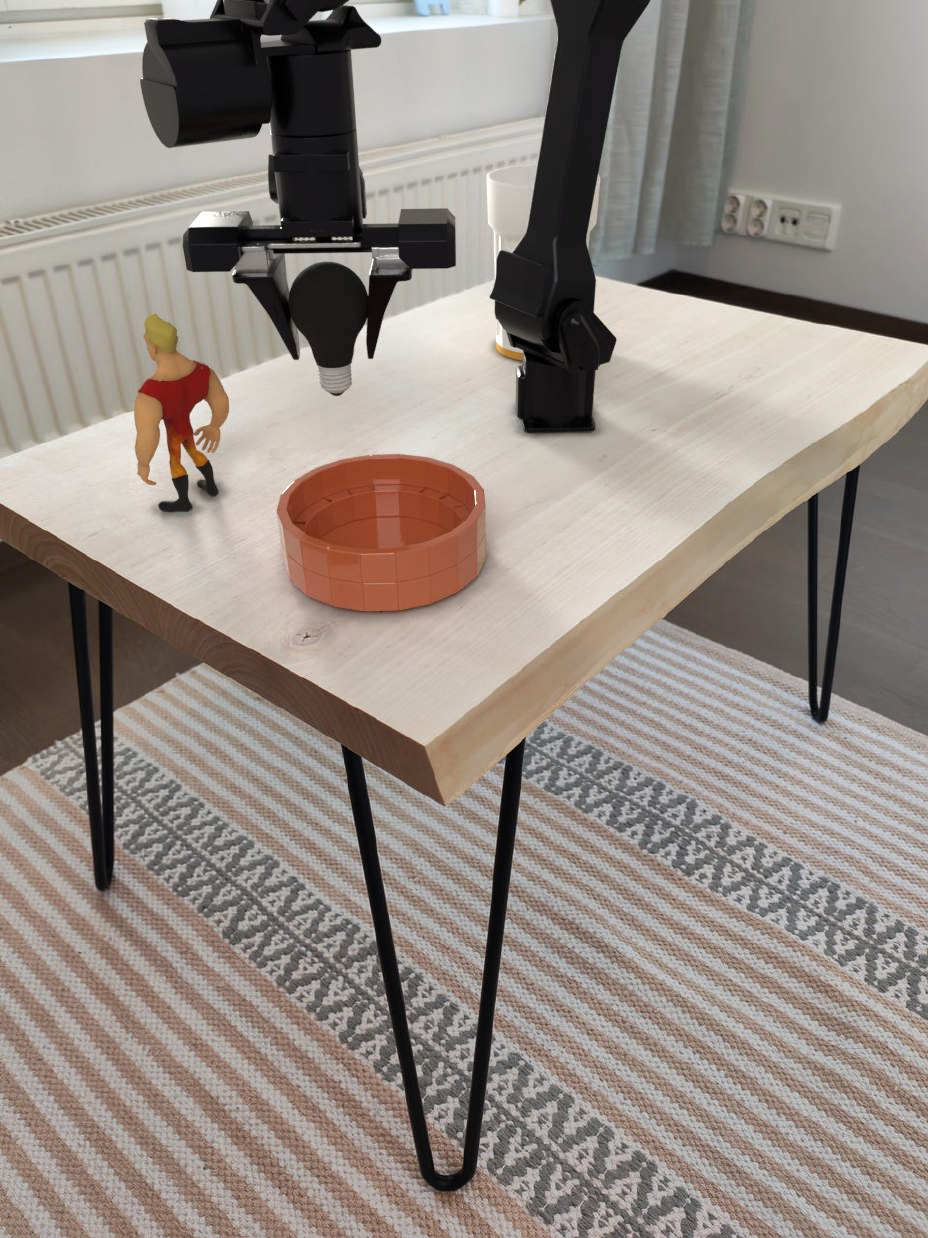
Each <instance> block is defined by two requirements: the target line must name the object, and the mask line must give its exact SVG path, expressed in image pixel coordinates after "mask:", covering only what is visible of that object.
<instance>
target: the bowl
mask: <svg viewBox="0 0 928 1238" xmlns="http://www.w3.org/2000/svg"><path fill="white" fill-rule="evenodd" d="M486 511H487V508H486V496H485V489H484V488H483V487H482V485H481V484H480V483H479V482H478V480H477V479H476V477H474V475H472V474H470V473H469V472H468V471H465V470H464V469H461V468H460V467H458V466H457V465H455V464H453V463H450V462H446V461H443V460H439V459H436V458H432V457H429V456H420V455H412V454H404V453H382V454H381V453H380V454H365V455H360V456H352V457H348V458H341V459H338V460H334V461H332V462H329V463H326V464H323V465H321V466H317V467H314V468H313V469H312V470H309V471H308V472H305V473H304V474H302V475H300V476H299V477H297V478H295V479H294V480H293V481H292V482H290V484H288V486H287V487H286V489H284V490H283V491H282V492H281V494H280V495H279V500H278V503H277V507H276V515H277V523H278V524H277V525H278V529H279V530H278V531H279V537H280V545H281V552H282V560H283V566H284V569H285V571H286V574H287V576H288V579H289V581H290V583H292V584H293V585H294V586H295V587H296V588H298V589H299V590H300V591H301V592H302V593H303V594H305V596H307V597H309V598H312V599H314V600H316V601H318V602H322V603H324V604H326V605H329V606H331V607H334V608H340V609H347V610H353V611H358V612H389V611H390V612H393V611H403V610H407V609H413V608H419V607H423V606H425V605H431V604H434V603H436V602H439V601H440V600H442V599H445V598H447V597H449V596H450V597H451V596H452V595H454V594H457V593H459V592H460V591H461V590H462V589H463V588H465V587H466V586H467V585H469V584H470V583H471V582H472V581H473V580H474V579H475V578H477V577H478V576H479V573H480V571H481V569H482V567H483V566H484V563H485V561H486V558H487V556H486V555H487V554H486V551H487V550H486V547H487V546H486V545H487V544H486V543H487V541H486V539H487V538H486V536H487V535H486V534H487V533H486V528H487V527H486V523H487V521H486V520H487V519H486V517H487V516H486Z"/></svg>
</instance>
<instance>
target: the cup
mask: <svg viewBox="0 0 928 1238" xmlns="http://www.w3.org/2000/svg"><path fill="white" fill-rule="evenodd" d="M537 165H538V163H530V164H519V165H509V166H506V167H505V166H504V167H500V168H496V169H493V170H491V171H489V172H488V173H486V197H487V198H486V201H487V202H486V203H487V225H488V226H489V227H490V229H492V231H493V259H494V260H493V261H494V280H495V279H496V260H497V257H498V254H499V252H500V251H501V250H504V251H508V252H513V250H514V249H515V248H516V246H517V245H518V243H519V242H520V241H521V239H522V238H523V236H524V235H525V233H526V231H527V227H528V222H529V216H530V210H531V203H532V197H533V191H534V184H535V178H536V172H537ZM600 188H601V176H600V173H598V178H597V183H596V188H595V194H594V199H593V205H592V210H591V215H590V221H589V226H588V231H587V239H586V243H587V248H588V250H589V248H590V239H591V238H590V237H591V236H590V235H591V231H592V230H593V229H594V228H595V226H596V225H597V222H598V211H599V210H598V209H599V200H600V190H601V189H600ZM495 349H496V350H497V352H499V353H500V354H501V355H502V356H503V357H507V358H509V359H512V360H515V361H522V362H523V350H521V349H519V348H514V347H512V346H511V345H510V343H509V339H508V336H507V333H506V330H504V329H503V327H502V326H501V324H500V323H499V321H498V320H497V319H496V318H495Z"/></svg>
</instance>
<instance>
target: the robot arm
mask: <svg viewBox="0 0 928 1238" xmlns="http://www.w3.org/2000/svg"><path fill="white" fill-rule="evenodd" d="M348 2H350V0H217V1H216V2H215V5H214V7H213V9H212V12H211V14H210V15H209V18H200V19H198V18H197V19H186V20H185V19H182V20H181V19H176V18H171V17H151V18H146V19H144V20H145V21H143V24H144V31H145V36H146V37H145V38H146V43H145V46H144V48H143V53H142V60H141V62H142V63H141V66H142V67H141V70H142V77H141V78H140V79H139V83H140V90H141V96H142V100H143V105H144V107H145V111H146V114H147V117H148V120H149V123H150V125H151V128H152V130H153V132H154V134H155V136H156V137H157V139H158V140H159V142H160V143H161V144H162V145H163V146H164V147H165V148H167V149H173V148H174V149H175V148H182V147H189V146H190V147H191V146H197V145H205V144H213V143H222V142H231V141H237V140H245V139H253V138H256V137H257V136H258V135H259V134H260V132H261V129H262V127H263V125H266V124H267V125H268V124H269V133H270V142H271V143H270V144H271V151H272V152H271V153H272V154H268V156H267V157H268V159H267V183H268V194H269V198H270V200H271V201H273V202H274V203H275V204H276V205H277V204H278V211H279V212H278V213H279V222H280V224H263V225H261V224H259V225H255V224H254V221H253V217H252V215H251V213H250V211H249V210H246V211H245V210H244V211H241V210H239V211H202V212H201V213H200V214H199V215H198V216H197V217H196V219H194V221H193V222H192V223H191V224H190V226H189V227H188V228H187V229H186V230H185V232H184V233H183V234H182V251H183V256H184V263H185V268H186V269H185V270H186V271H189V272H191V273H225V272H226V273H227V272H228V273H229V272H231V271H232V270H233V269H234V271H233V273H232V274H231V277H232V282H233V283H234V284H238V285H239V284H240V285H242V284H244V285H246V286H247V287H248V289H249V290H250V291H251V293H252V294H253V295H254V297H255V298H256V300H257V301H258V302H259V304H260V305H261V306H262V308H263V310H264V311H265V312H266V313H267V315H268V317H269V319H270V320H271V322H272V324H273V325H274V327H275V329H276V331H277V333H278V335H279V336H280V338H281V340H282V342H283V344H284V345H285V347H286V349H287V351H288V352H289V354H290V356H291V358H292V360H294V361H299V360H300V357H301V348H300V335H299V332H298V331H299V330H298V329H297V327H296V326H295V324H294V322H293V320H292V318H291V315H290V311H289V302H288V299H289V293H290V289H289V283H288V277H287V266H286V254H287V255H288V254H289V255H290V254H291V255H292V254H293V255H294V254H349V253H350V254H352V253H353V254H355V253H356V254H357V253H360V254H361V253H362V254H363V253H371V259H372V262H371V266H370V270H369V273H368V276H369V277H368V291H367V294H368V313H367V320H366V335H365V337H366V339H365V343H366V345H365V346H366V355H367V359H368V360H374V357H375V353H376V350H377V345H378V341H379V336H380V333H381V328H382V324H383V320H384V317H385V313H386V310H387V307H389V304H390V301H391V298H392V296H393V293H394V291H395V289H396V286H397V284H398V283H399V282H408V281H411V280H412V278H413V270H423V269H424V270H432V269H433V270H436V269H438V270H439V269H440V270H441V269H451V268H454V267H456V266H457V236H456V233H457V231H456V230H457V229H456V228H457V227H456V226H457V225H456V216H455V215H454V214H453V213H452V212H451V211H450V209H449V208H448V207H444V208H442V207H441V208H439V207H438V208H437V207H436V208H401V209H400V212H399V218H398V222H397V223H396V222H395V223H364V219H367V215H368V210H367V208H368V207H367V195H366V181H365V178H364V173H363V170H362V169H361V166H360V159H359V146H358V131H357V119H356V102H355V88H354V74H353V60H352V58H353V57H352V51H354V50H365V49H376V48H379V47H380V46H381V44H382V37H381V35H380V34H379V33H378V32H376V30H374V28H372V27H371V26H370V25H369V24H368V23H367V22H366V21H365V20H364V19H363V18H362V16H361V14H360V13H359V11H358V9H357V8H356V7H355V6H354V5H346V4H347V3H348ZM549 2H550V5H551V9H552V13H553V17H554V20H555V25H556V28H557V39H556V46H555V52H554V58H553V66H552V71H551V77H550V84H549V90H548V96H547V103H546V109H545V115H544V122H543V128H542V134H541V135H542V136H541V140H540V147H539V154H538V160H537V164H538V165H537V172H536V178H535V184H534V191H533V197H532V203H531V210H530V216H529V222H528V227H527V231H526V233H525V235H524V236H523V238H522V239H521V241H520V242H519V243H518V245H517V246H516V248H515V249H514V250H513V252H508V251H504V250H501V251H500V252H499V254H498V257H497V260H496V279H495V278H494V284H493V287H492V289H491V292H490V294H489V299H491V300H492V301H494V316H495V320H496V319H497V320H498V321H499V323H500V324H501V326H502V327H503V329H504V330H506V333H507V336H508V339H509V343H510V345H511V346H512V347H514V348H519V349H521V350H523V361H522V365H518V366H517V367H516V368H515V411H516V417H517V419H518V420H521V422H522V429H523V432H524V433H527V434H537V433H538V434H539V433H543V434H544V433H574V432H575V433H577V432H579V433H581V432H584V433H585V432H586V433H587V432H594V431H596V422H595V419H594V400H595V399H594V397H595V384H596V371H598V370H599V367H601V366H602V365H605V364H608V363H610V361H611V359H612V356H613V353H614V351H615V347H616V344H617V337H616V336H615V335H614V334H613V332H612V331H611V330H610V329H609V328H608V327H607V326H606V324H605V323H604V322H603V321H602V320H601V319H600V318H599V317H598V316H597V315H596V313H595V302H596V289H597V288H596V286H597V278H596V274H595V271H594V266H593V263H592V259H591V255H590V252H589V249H588V248H587V243H586V239H587V231H588V226H589V221H590V215H591V210H592V205H593V199H594V194H595V188H596V183H597V178H598V174H599V172H600V166H601V161H602V155H603V151H604V146H605V139H606V135H607V129H608V123H609V118H610V112H611V108H612V102H613V98H614V97H613V96H614V91H615V85H616V80H617V75H618V71H619V65H620V59H621V53H622V49H623V45H624V42H625V40H626V38H627V36H628V35H629V33H631V31H632V29H633V28H634V27H635V25H636V24H637V22H638V21H639V19H640V18H641V16H642V15H643V13H644V12H645V10H646V8H647V7H648V6H649V4H650V2H651V0H549ZM330 11H331V13H330V14H329V15H328V16H327V18H326V19H317V20H315V19H314V20H311V19H312V18H313V17H314V16H316V14H318V13H324V12H330ZM262 36H268V37H274V36H275V37H276V36H280V39H276V40H270V41H261V37H262ZM306 238H307V240H305V239H306ZM312 238H313V240H312ZM333 238H335V239H333ZM339 238H341V239H339ZM344 238H345V239H344ZM350 238H351V239H350ZM300 239H302V240H300Z"/></svg>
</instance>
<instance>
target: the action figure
mask: <svg viewBox="0 0 928 1238" xmlns="http://www.w3.org/2000/svg"><path fill="white" fill-rule="evenodd" d="M144 330H145V331H144V333H143V339H144V341H145V343H146V350H147V352H148V354H149V356H150V359H151V360H152V361H154V362H156V364H157V366H156V369H155V371H153V373H152V374H151V375H150V376H148V378H146V379H145V380H144V382H143V383H142V385H141V386H140V388H139V389H138V390H137V395H136V397H135V399H134V405H133V417H134V426H135V430H136V437H135V443H134V453H135V458H136V460H137V464H136V466H137V472H136V474H137V475H138V476H139V477H140V480H141V481H143V482H144V483H145V484H147V485H149V486H156V485H157V482H156V481H153V480H151V479H149V475H150V471H151V466H150V463H151V461H152V460H153V458H154V456H155V454H156V451H157V450H158V446H159V444H160V440H161V439H160V438H161V429H160V423H161V421H162V422H163V424H164V426H165V433H166V445H167V450H168V454H169V455H168V456H169V462H168V464H169V469H170V475H171V482H172V484H173V487H174V488H175V490H176V492H177V497H178V498H176V500H171V501H170V500H169V501H167V500H163V501H160V502H158V504H157V505H158V509H159V510H160V511H162V512H168V513H169V512H170V513H171V512H172V513H173V512H174V513H175V512H190V511H191V510H192V509H193V504H192V503H191V501H190V498H189V486H190V485H189V484H190V483H189V481H190V480H189V473H188V472H187V470H186V468H185V467H184V466H183V464H182V462H181V459H182V447H183V448H184V450H185V451H186V453H187V455H188V456H189V457H190V459H191V460H192V462H193V464H194V465H195V468H196V469H197V470H198V471H199V472H200V473H201V475H202V476H203V479H202V478H201V479H198V481H196V486H197V487H198V488H200V489H202V490H204V491H205V492H206V493H207V495H209V496H210V497H214V496H217V495H218V494H219V489H218V486H217V484H216V482H215V477H214V476H215V475H214V467H213V466H212V463H211V462H210V459H208V457H207V456H206V454H205V453H204V451H206V449H207V451H206V453H207V454H210V453H212V454H214V453H215V452H216V451H217V450H218V448H219V445H220V443H221V442H220V441H221V436H222V435H221V427H222V426H223V425H224V423H226V421H227V419H228V416H229V413H230V399H229V396H228V394H227V391H226V390H225V388H224V386H223V384H222V382H221V380H220V378H219V376H218V374H217V373H216V372H215V370H214V369H212V368H211V367H210V366H209V365H207V364H206V363H204V362H200V361H198V360H192V359H191V358H189V357H188V356H186V355H184V354H182V353H180V352H179V351H178V350H177V346H178V345H177V344H178V342H179V336H178V329H177V328H176V327H175V326H174V324H172V323H170V322H169V321H167V320H165V319H163V318H162V317H160V316H159V315H158V313H154V314H151V315H149V316H147V317H145V320H144ZM202 401H205V402H206V403H207V405H208V407H209V408H210V411H211V417H210V422H209V424H206V425H202V426H200V427H198V428H196V429H195V431H194V428H193V425H192V424H191V413H192V412H193V410H194V408H195V407H196V406H197V404H199V403H201V402H202ZM201 432H202V434H201ZM200 434H201V436H200V437H199V438H198V439H197V441H196V442H195V438H194V437H197V436H199V435H200ZM203 441H204V443H203V445H202V447H201V451H203V452H201V451H200V450H198V449H197V446H199V445H200V444H201V443H202V442H203ZM209 443H210V444H209ZM208 445H209V446H208ZM207 447H208V448H207Z"/></svg>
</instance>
